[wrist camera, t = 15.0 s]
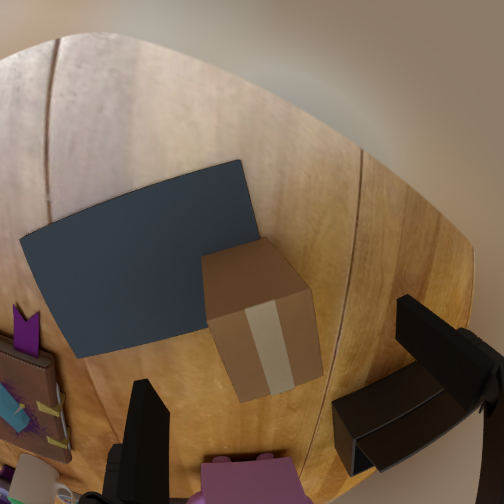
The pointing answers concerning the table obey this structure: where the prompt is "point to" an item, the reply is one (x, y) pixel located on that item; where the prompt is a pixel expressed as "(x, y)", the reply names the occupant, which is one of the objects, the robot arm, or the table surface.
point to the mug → (35, 482)
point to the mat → (139, 259)
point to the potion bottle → (5, 483)
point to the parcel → (261, 319)
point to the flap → (414, 431)
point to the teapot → (250, 482)
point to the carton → (379, 410)
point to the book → (31, 394)
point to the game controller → (67, 496)
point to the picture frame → (177, 501)
